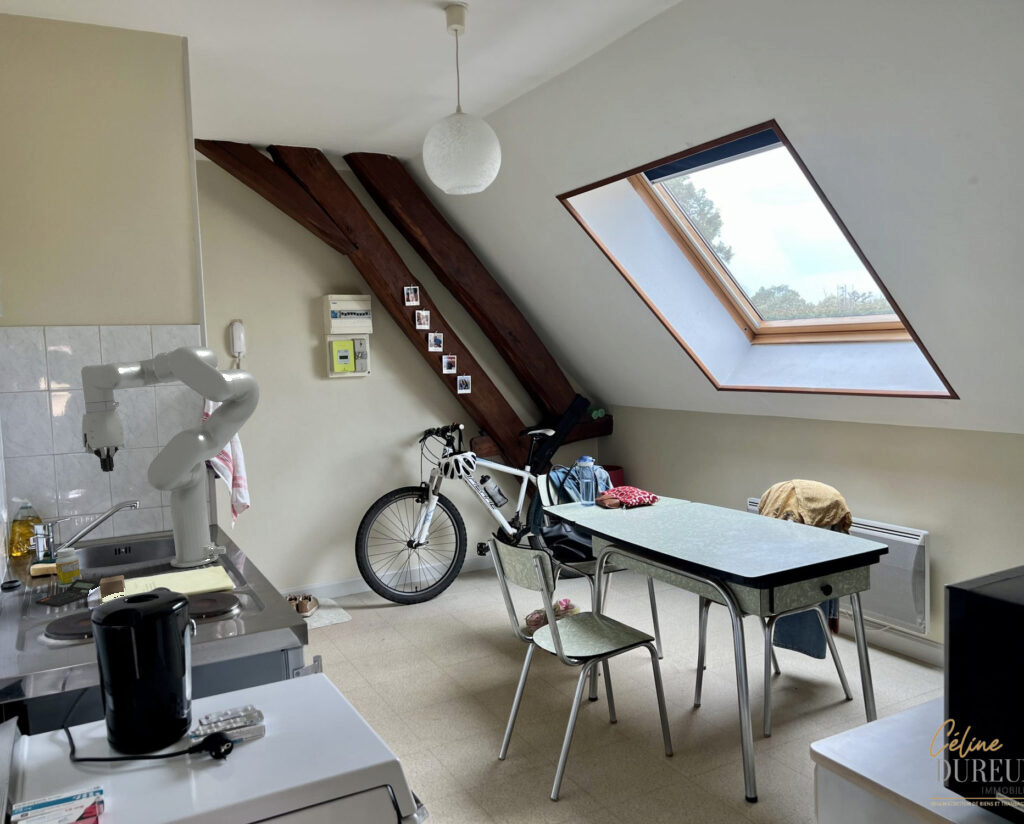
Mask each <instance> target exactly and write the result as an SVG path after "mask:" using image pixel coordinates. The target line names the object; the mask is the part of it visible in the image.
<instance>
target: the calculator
mask: <svg viewBox="0 0 1024 824" xmlns="http://www.w3.org/2000/svg"><path fill="white" fill-rule="evenodd" d="M99 586H100V581H93V580H85V579H81V580H79V579H77V580H76V581H75V582H74V583H73V584H71V585H70V586H69V587H66V588H65V590H64V591H63V592H59V593H57V594H53V595H51V596H50V595H49V596H47V597H44V598H42V599H39V600H38V599H37V600H35V601H34V603H35V605H43V606H48V607H56V608H59V607H62V606H65V605H66V606H67V605H69V604H72V603H75V602H77V601H81V600H83V599H86V598H89V597H88V594H89V590H90V589H91V590H93V589H95V588H97V587H99ZM99 588H100V587H99Z"/></svg>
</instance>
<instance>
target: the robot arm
mask: <svg viewBox="0 0 1024 824" xmlns="http://www.w3.org/2000/svg"><path fill="white" fill-rule="evenodd" d="M218 360H219V359H218V356H217V354H216V353H215V351H214V350H213V349H211V348H210V347H207V346H203V345H196V346H195V345H193V346H180V347H178V348H176V349H174V350H169V351H165V352H159V353H157V354H156V355H155V357H154V358H148V359H142V360H135V361H125V362H111V363H106V364H92V365H90V364H89V365H84V366H82V368H81V370H80V373H81V381H82V383H81V384H82V389H83V390H82V391H83V398H84V399H83V400H84V407H85V414H82V422H81V437H82V446H83V447H84V448H85V452H84V453H85V454H89V455H90V454H93V455H95V456H96V458H97V457H98V459H99V462H100V469H101V471H102V472H104V473H108V472H114V467H115V465H114V464H115V463H114V457H115V454H116V453H117V452H118V451H120V450H122V449H124V448H126V447H125V446H126V445H125V435H124V428H123V424H122V420H121V417H120V414H119V411H117V407H120V403H119V402H118V401H117V402H116V401H115V396H114V391H115V390H116V391H117V390H125V389H132V388H133V389H135V388H141V387H147V386H153V385H158V384H168V383H174V382H179V381H180V382H182V383H183V384H184V385H186V386H187V387H189V388H190V389H192V391H194V392H195V393H196V394H198V395H200V396H201V397H203V398H204V399H206V400H208V401H211V402H212V403H221V404H220V405H218V406H217V407H216V408H215V409H214V410H213V411H212V413H211V414H210V415H209V416H208V417H207V419H205V420H204V422H203V423H201V424H200V425H198V426H195V427H192V428H187V429H183V430H181V431H179V432H178V433H176V434H175V435H174V436H173V437H172V438H171V439H169V441H168V442H167V443H166V444H165V446H164V447H163V448H162V449H161V451H160V452H159V453H158V454H157V455H156V457H155V458H153V460H152V461H151V463H150V464H149V466H148V468H147V473H146V475H147V481H148V485H150V486H151V487H152V488H153V489H154V490H156V491H158V492H163V493H165V492H167V493H168V492H170V495H169V496H170V498H169V501H170V502H169V503H170V504H169V505H170V516H171V522H172V531H173V532H172V533H173V541H174V542H173V543H174V548H175V557H174V558H172V559H171V560H170V566H172V567H174V568H190V567H198V566H202V565H207V564H210V563H213V562H215V561H217V559H219V555H224V554H227V548H226V546H224V545H220V546H217V545H215V541H211V531H210V524H209V522H210V521H209V514H208V503H207V502H208V501H207V492H206V482H207V465H206V461H208V460H212V459H214V458H216V457H217V456H219V454H220V453H221V452H222V451H223V450H224V448H225V447H226V446H228V444H229V443H230V442H231V440H233V438H234V437H235V436H236V434H237V433H238V432H239V430H241V429H242V427H243V426H244V425H245V424H246V423H247V422H248V420H249V419H250V418H251V416H252V415H253V414H254V412H255V411H256V409H257V406H258V404H259V402H260V401H259V400H260V387H259V384H258V381H257V379H256V377H255V376H254V374H252V372H250V371H248V370H245V369H241V368H230V369H220V370H219V369H217V367H218V363H219V362H218Z"/></svg>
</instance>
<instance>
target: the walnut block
mask: <svg viewBox="0 0 1024 824" xmlns="http://www.w3.org/2000/svg"><path fill="white" fill-rule="evenodd" d="M99 582H100V587H99V589H100V590H99V592H100V599H102V598H104V597H106V596H108V595H111V594H114V593H119V592H124V588H125V589H126V585H125V584H126V583H125V582H126V581H125V576H124V574H122V575H115V576H114V575H113V576H110V577H102V578H101V579H100V581H99ZM120 596H124V595H120ZM117 597H118V596H117ZM114 598H116V597H114Z"/></svg>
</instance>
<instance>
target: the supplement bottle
mask: <svg viewBox="0 0 1024 824" xmlns="http://www.w3.org/2000/svg"><path fill="white" fill-rule="evenodd" d="M56 552H57V553H56V554H57V557H58V558H56V559H55V569H56V576H57V577H56V578H57V583H58V587H59V588H65V589H66V588H68V587H69V586H70V585H71V584H73V583H74V582H75V581H76V580H77V579H79V580H82V576H81V568H80V561H79V560H80V559H79V556H77V555H76V554H75V552H76V551H75V548H74V547H65V548H61V549H58V550H57V551H56Z"/></svg>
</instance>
